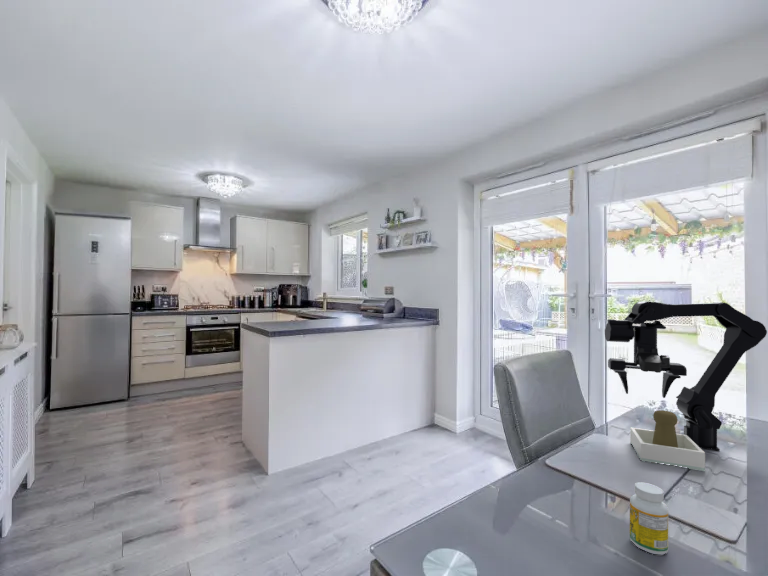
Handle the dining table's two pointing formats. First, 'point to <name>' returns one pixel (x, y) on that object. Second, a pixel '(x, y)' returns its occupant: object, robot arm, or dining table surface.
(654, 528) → the supplement bottle
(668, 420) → the cork
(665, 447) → the open box
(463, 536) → the dining table surface
